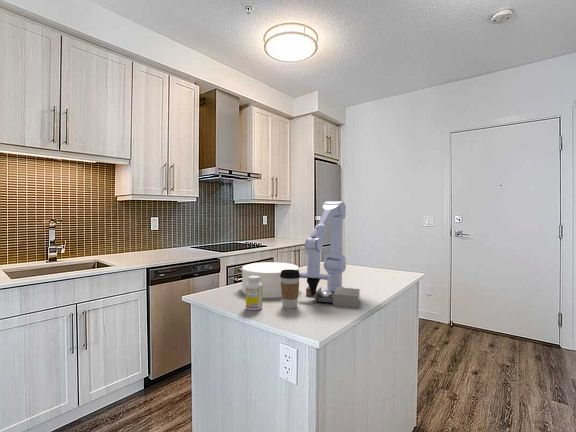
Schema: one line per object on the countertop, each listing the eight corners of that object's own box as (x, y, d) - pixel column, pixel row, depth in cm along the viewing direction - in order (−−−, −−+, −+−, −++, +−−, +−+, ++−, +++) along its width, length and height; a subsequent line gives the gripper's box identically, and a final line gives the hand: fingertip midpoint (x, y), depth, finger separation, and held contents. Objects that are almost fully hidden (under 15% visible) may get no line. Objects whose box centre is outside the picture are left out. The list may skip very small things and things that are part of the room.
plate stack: (274, 301, 135) (274, 275, 135) (229, 291, 152) (230, 267, 152) (309, 288, 158) (309, 266, 158) (267, 280, 175) (267, 260, 174)
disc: (320, 294, 140) (320, 290, 140) (332, 295, 139) (332, 291, 139) (318, 298, 135) (318, 293, 135) (330, 299, 134) (330, 294, 134)
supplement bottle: (254, 304, 130) (254, 274, 130) (265, 308, 126) (265, 276, 126) (242, 308, 125) (242, 276, 125) (253, 312, 121) (254, 279, 121)
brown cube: (308, 293, 148) (308, 286, 148) (316, 294, 147) (316, 287, 147) (306, 295, 144) (306, 288, 144) (314, 296, 143) (314, 289, 143)
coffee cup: (282, 310, 124) (282, 272, 123) (277, 303, 132) (277, 268, 131) (302, 308, 126) (303, 271, 125) (296, 302, 134) (296, 267, 134)
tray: (318, 296, 144) (318, 287, 144) (341, 298, 141) (341, 289, 141) (313, 303, 133) (313, 293, 133) (337, 305, 130) (337, 296, 130)
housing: (336, 297, 142) (337, 287, 142) (359, 299, 139) (359, 289, 139) (333, 305, 130) (333, 294, 130) (357, 307, 127) (357, 296, 127)
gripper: (295, 265, 137) (295, 295, 137) (328, 267, 132) (328, 298, 133) (299, 262, 143) (299, 291, 144) (330, 264, 139) (330, 294, 139)
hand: (313, 295), depth 139 cm, fingers closed
